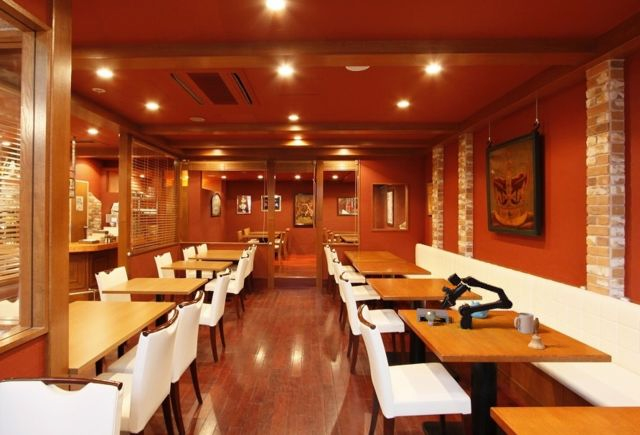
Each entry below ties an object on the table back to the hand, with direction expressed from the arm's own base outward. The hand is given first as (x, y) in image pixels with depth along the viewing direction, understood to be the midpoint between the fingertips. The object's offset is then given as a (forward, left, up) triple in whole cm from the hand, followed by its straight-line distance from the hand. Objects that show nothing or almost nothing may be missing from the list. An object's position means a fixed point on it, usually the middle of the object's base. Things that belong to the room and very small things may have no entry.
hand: (440, 307), depth 246 cm
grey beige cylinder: (+6, 0, -12) cm, 14 cm away
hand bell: (-48, +29, -12) cm, 57 cm away
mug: (-49, +2, -12) cm, 50 cm away
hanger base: (+4, -14, -12) cm, 19 cm away
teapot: (-28, -31, -12) cm, 44 cm away
